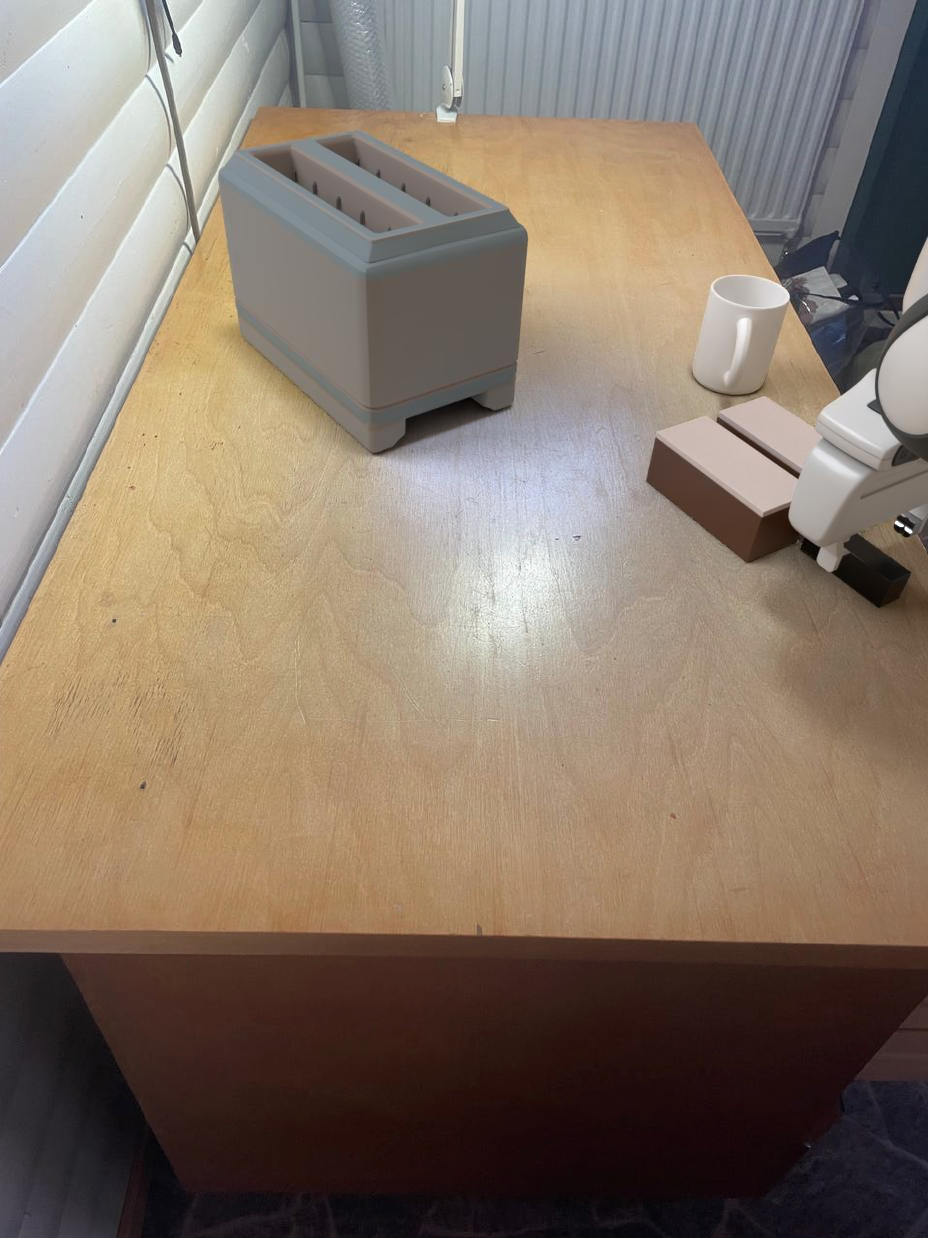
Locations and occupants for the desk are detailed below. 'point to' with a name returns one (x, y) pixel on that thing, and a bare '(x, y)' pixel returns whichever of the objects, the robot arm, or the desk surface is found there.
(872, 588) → the knife
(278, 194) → the toaster
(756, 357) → the mug
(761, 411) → the cake
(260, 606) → the desk surface
